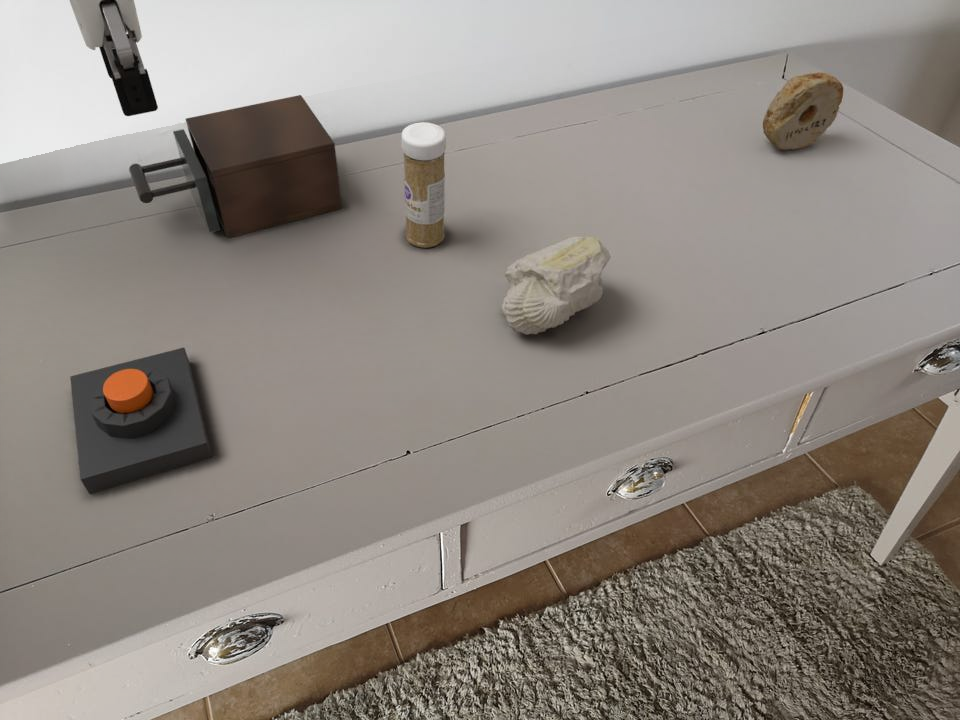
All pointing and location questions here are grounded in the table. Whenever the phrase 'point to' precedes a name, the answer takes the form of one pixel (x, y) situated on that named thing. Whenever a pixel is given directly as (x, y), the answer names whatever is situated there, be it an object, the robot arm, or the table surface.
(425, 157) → the sprinkles bottle
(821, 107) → the stone disc
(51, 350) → the table surface
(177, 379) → the control block
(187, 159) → the grey drawer
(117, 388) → the button
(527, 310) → the fossil replica
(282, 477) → the table surface
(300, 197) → the drawer cabinet
